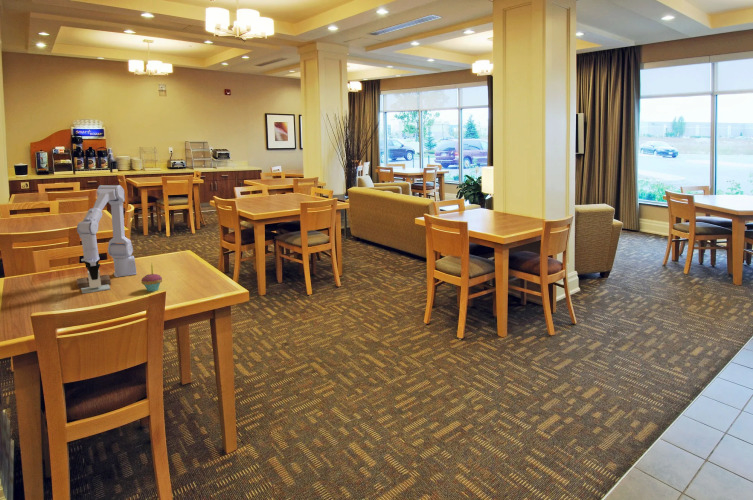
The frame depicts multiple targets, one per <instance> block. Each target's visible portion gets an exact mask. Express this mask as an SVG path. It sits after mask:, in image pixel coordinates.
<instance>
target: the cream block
mask: <svg viewBox="0 0 753 500" xmlns="http://www.w3.org/2000/svg"><path fill="white" fill-rule="evenodd" d="M86 272H87V277H88V279H89V286H90V288H96V287H101V280H100V276H101V274H100V273H101V272H100V269H99V270H98V279H96V280H92V279H91V276H90V273H89V271H88V270H87V271H86Z"/></svg>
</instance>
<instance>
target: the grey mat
mask: <svg viewBox="0 0 753 500" xmlns="http://www.w3.org/2000/svg"><path fill="white" fill-rule="evenodd" d="M80 290H81V294H90V293H96V292H103V291H110V290H111V287H110V285H109V284H107V285H101V287H96V288H90V287H87V288H81V289H80Z"/></svg>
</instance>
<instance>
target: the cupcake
mask: <svg viewBox="0 0 753 500" xmlns="http://www.w3.org/2000/svg"><path fill="white" fill-rule="evenodd" d="M150 268H151V270H150V274H145V276H143V277H142V278H141V285H144V287H145V289H146V291H147V292H156V291H158V290H160V289H159V288H160V285H161V283H162V282H163V277H162V276H161V275H160V274H158V273H157V274H156V273H154V265H153V263H151V266H150Z"/></svg>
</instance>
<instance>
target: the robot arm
mask: <svg viewBox="0 0 753 500" xmlns="http://www.w3.org/2000/svg"><path fill="white" fill-rule="evenodd" d="M96 194H97V195H96V196H97V197H96V200H95V202H94V204H93V207H92V208H89V209H88V211H87V213H86V215H85V216H84V218H83V219H82V221H80V222H78V223H77V227H76V232H77V234H78V235H79V238H80V239H81V245H82V252H83V258H80V260H81V262H84V265H85V267H86V269H87V271H89V273H90V276H91V279H92V280H96V279H98V270H99V271H100V267H101V263H99V262H100V255H99V248H98V242H97V233H98V232H99V222H100V220H101V219H102V217H103V212H102V211H103V210H104V208H105V207H106V205H107V203H108V204H109V205H110V210H111V223H112V225H111V226H112V227H111V228H112V238H111V239H110V240H109V241H108V246H107V253H108V255H109V256H110V257H111V259H112V260H113V268H114V272H113V275H114V277H115V278H119V277H127V276H132V275H133V276H134V275H137V273H138V272H137V266H136V260H135V256H134V255H132V254H133V253H134V248H133V243H132V240H131V239H129V238H127V237H126V234H125V233H126V231H125V230H126V229H125V217H124V202H125V200H126V199H125V189H124V188H123V186H122V185H120V184H118V185H107V184H106V185H102V184H100V185H99V186H98V187H97V189H96Z"/></svg>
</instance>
